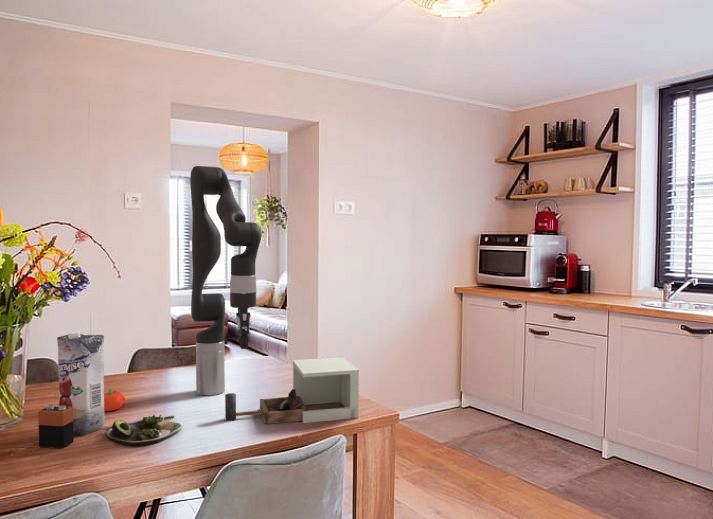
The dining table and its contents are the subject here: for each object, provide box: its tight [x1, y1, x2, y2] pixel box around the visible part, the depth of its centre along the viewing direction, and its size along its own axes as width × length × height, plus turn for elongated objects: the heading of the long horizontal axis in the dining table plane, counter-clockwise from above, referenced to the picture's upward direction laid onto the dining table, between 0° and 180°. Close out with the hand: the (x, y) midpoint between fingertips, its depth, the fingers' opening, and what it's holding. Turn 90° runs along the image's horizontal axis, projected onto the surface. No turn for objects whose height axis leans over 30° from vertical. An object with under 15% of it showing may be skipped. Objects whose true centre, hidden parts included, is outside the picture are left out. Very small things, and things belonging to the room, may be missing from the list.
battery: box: [37, 403, 75, 449], centre depth 136 cm, size 4×7×10 cm, turn 82°
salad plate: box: [102, 414, 183, 448], centre depth 145 cm, size 19×18×5 cm
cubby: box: [292, 356, 360, 424], centre depth 163 cm, size 16×17×14 cm
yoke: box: [224, 392, 309, 425], centre depth 158 cm, size 22×14×7 cm, turn 106°
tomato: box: [104, 388, 126, 412], centre depth 164 cm, size 7×8×6 cm
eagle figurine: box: [277, 388, 303, 411], centre depth 161 cm, size 8×7×9 cm
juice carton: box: [56, 330, 105, 437], centre depth 146 cm, size 9×10×27 cm
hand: (243, 345), depth 159 cm, fingers open, 8 cm apart
